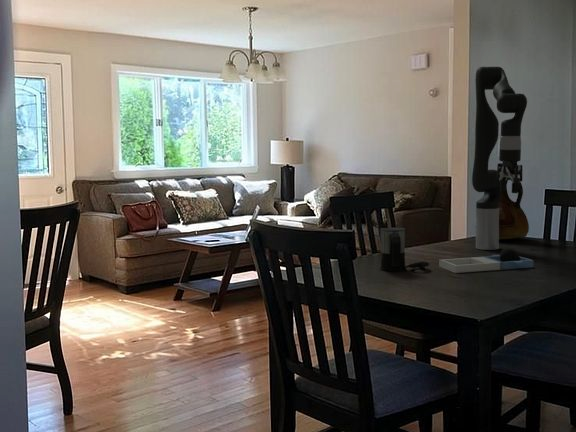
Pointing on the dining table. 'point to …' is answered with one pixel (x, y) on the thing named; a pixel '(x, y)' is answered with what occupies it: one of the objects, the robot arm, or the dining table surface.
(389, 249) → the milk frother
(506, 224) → the ceramic pitcher
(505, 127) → the robot arm
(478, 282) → the dining table surface
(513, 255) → the light bulb
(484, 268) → the two-tone divided frame
